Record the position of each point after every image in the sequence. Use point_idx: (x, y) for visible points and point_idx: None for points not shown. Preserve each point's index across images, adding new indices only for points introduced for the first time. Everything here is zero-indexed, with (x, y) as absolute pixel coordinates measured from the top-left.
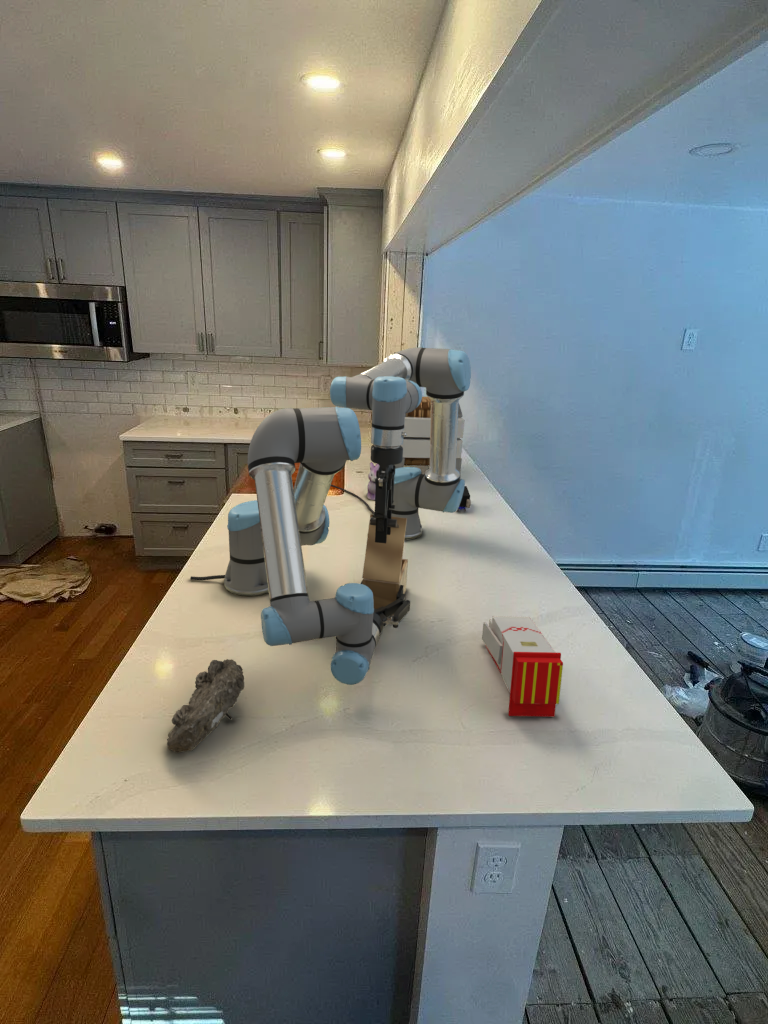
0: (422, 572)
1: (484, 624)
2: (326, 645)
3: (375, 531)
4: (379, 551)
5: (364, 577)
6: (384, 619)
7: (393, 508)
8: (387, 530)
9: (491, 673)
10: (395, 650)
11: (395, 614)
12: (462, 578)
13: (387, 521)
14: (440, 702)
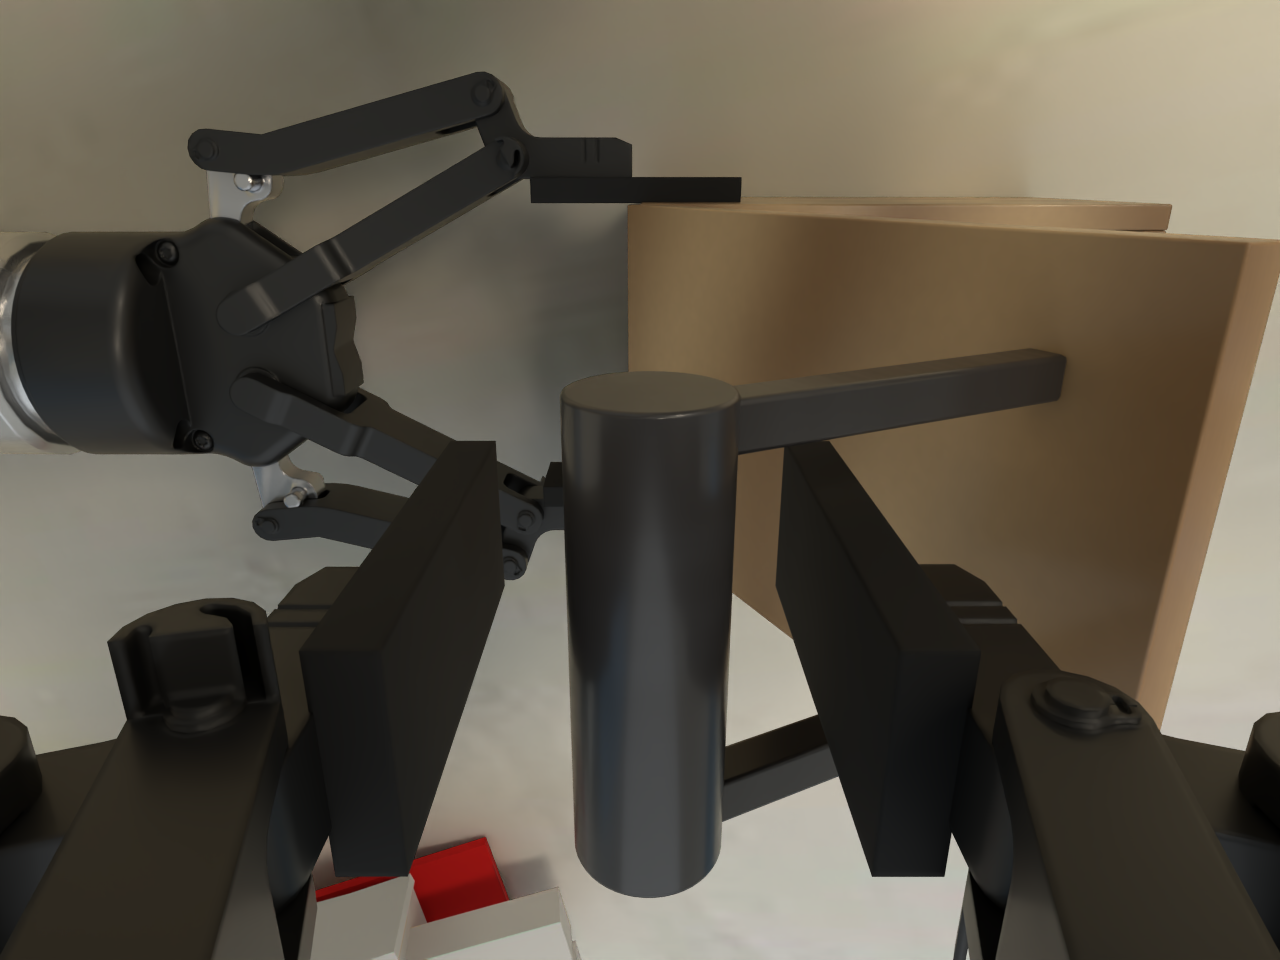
0: (1261, 492)
1: (379, 951)
2: (195, 70)
3: (407, 503)
4: (768, 380)
5: (631, 225)
6: (230, 457)
7: (960, 930)
8: (789, 580)
9: None
10: (306, 469)
11: (305, 517)
12: (1182, 717)
13: (427, 802)
14: (16, 696)
